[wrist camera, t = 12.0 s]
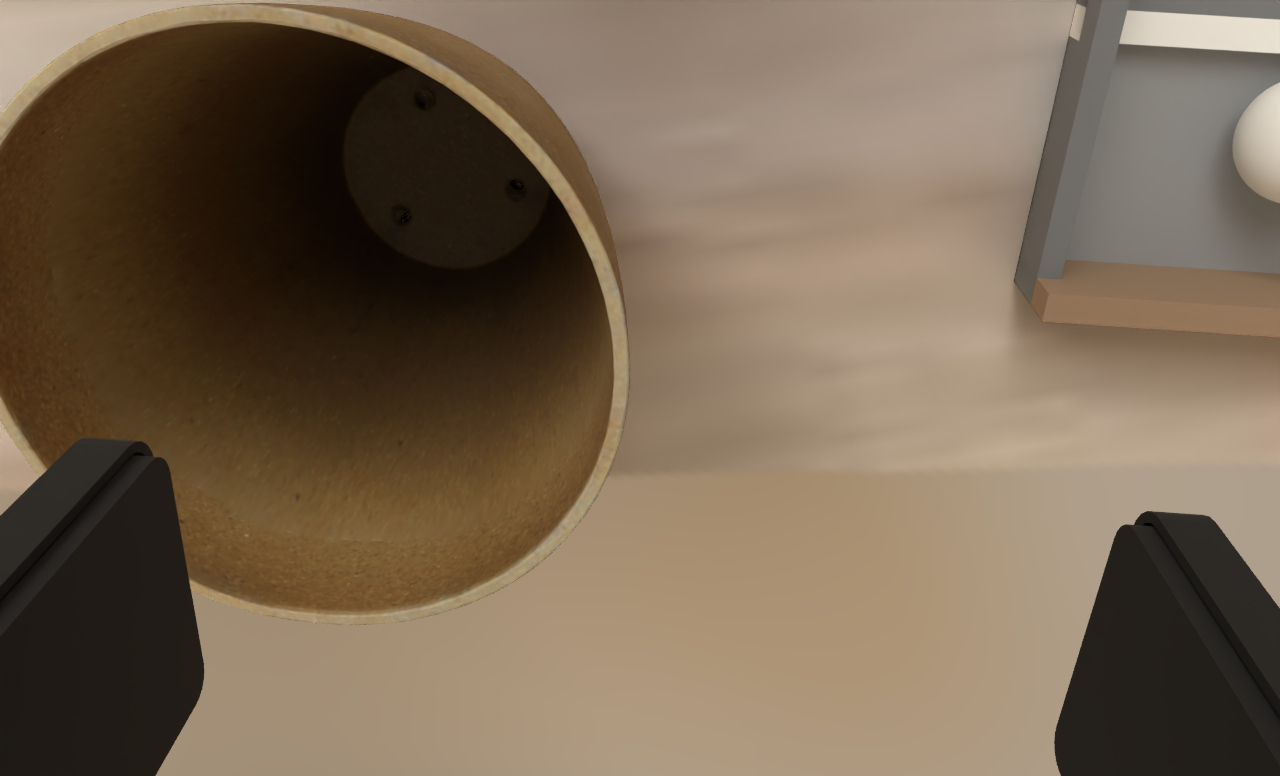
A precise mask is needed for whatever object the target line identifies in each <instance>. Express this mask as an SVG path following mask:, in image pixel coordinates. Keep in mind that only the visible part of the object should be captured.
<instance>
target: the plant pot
mask: <svg viewBox="0 0 1280 776" xmlns="http://www.w3.org/2000/svg"><path fill="white" fill-rule="evenodd" d="M419 92H422V93H423V94H424V95H425V98H426V104H425V105H424V106H423V107H420V106H419V105H418V104H417V101H416V95H417V94H418V93H419ZM511 181H519V182H520V183H522V184H523V186H524V188H523V189H521V190H516V189H514V188H513V187H512V185H511ZM405 213H409V214H410V215H411V217H410V219H409V220H408V221H406V222H401V219H400V218H401V216H402V215H403V214H405ZM629 378H630V360H629V342H628V332H627V321H626V311H625V304H624V296H623V289H622V283H621V278H620V273H619V267H618V262H617V257H616V252H615V248H614V243H613V239H612V235H611V231H610V228H609V224H608V221H607V218H606V215H605V212H604V209H603V205H602V202H601V200H600V197H599V194H598V191H597V188H596V186H595V183H594V181H593V179H592V176H591V174H590V172H589V170H588V167H587V165H586V163H585V161H584V159H583V157H582V155H581V153H580V151H579V149H578V147H577V145H576V144H575V142H574V140H573V139H572V137H571V135H570V134H569V132H568V130H567V129H566V127H565V126H564V124H563V123H562V122H561V120H560V119H559V117H558V116H557V115H556V113H555V112H554V111H553V109H552V108H551V107H550V106H549V104H548V103H547V102H546V101H545V100H544V99H543V97H542V96H541V95H540V94H539V93H538V92H537V91H536V90H535V89H534V88H533V87H532V86H531V85H530V84H529V83H528V82H527V81H526V80H525V79H523V78H522V77H521V76H520V75H519V74H518V73H516V72H515V71H514V70H513V69H512V68H510V67H509V66H507V65H506V64H504V63H503V62H502V61H500V60H499V59H497V58H496V57H494V56H493V55H491V54H490V53H488V52H486V51H484V50H482V49H481V48H479V47H477V46H475V45H473V44H472V43H470V42H468V41H465V40H463V39H461V38H459V37H457V36H454V35H452V34H450V33H447V32H445V31H442V30H439V29H436V28H433V27H430V26H427V25H424V24H421V23H417V22H414V21H410V20H407V19H403V18H398V17H394V16H389V15H384V14H379V13H373V12H368V11H361V10H354V9H347V8H339V7H326V6H313V5H297V4H275V3H240V4H214V5H203V6H192V7H182V8H177V9H173V10H168V11H163V12H158V13H153V14H149V15H146V16H143V17H140V18H137V19H133V20H130V21H127V22H124V23H121V24H119V25H117V26H114V27H112V28H110V29H107V30H105V31H102V32H100V33H98V34H96V35H94V36H92V37H90V38H88V39H87V40H85V41H83V42H81V43H79V44H78V45H76V46H74V47H73V48H71V49H70V50H68V51H67V52H65V53H64V54H62V55H61V56H59V57H58V58H57V59H55V60H54V61H52V62H51V63H50V64H49V65H48V66H46V67H45V68H44V69H43V70H42V71H41V72H39V73H38V74H37V75H36V76H35V77H34V78H32V79H31V80H30V81H29V82H28V83H27V84H26V85H25V86H24V87H23V88H22V89H21V90H20V91H19V92H18V93H17V94H16V96H15V97H14V98H13V99H12V100H11V101H10V102H9V103H8V105H7V106H6V107H5V109H4V110H3V112H2V113H1V115H0V420H1V422H2V424H3V426H4V427H5V429H6V431H7V432H8V434H9V435H10V437H11V438H12V440H13V441H14V443H15V444H16V446H17V447H18V449H19V450H20V452H21V453H22V454H23V456H24V457H25V459H26V460H27V461H28V463H29V464H30V465H31V467H32V468H33V469H34V470H35V472H36V473H37V474H38V475H39V476H41V475H42V474H43V473H44V472H45V471H46V470H47V469H48V468H49V467H51V466H52V465H53V464H54V463H55V462H56V461H57V460H58V459H59V458H60V457H61V456H62V455H63V454H64V453H65V452H66V451H67V450H68V449H69V448H70V447H71V446H72V445H73V444H74V443H75V442H77V441H78V440H80V439H81V438H103V439H117V440H131V441H142V442H144V443H146V444H147V445H148V446H149V448H150V449H151V451H152V453H153V457H161V458H163V459H165V460H166V462H167V464H168V466H169V469H170V473H171V479H172V484H173V490H174V496H175V502H176V507H177V513H178V519H179V525H180V530H181V536H182V542H183V548H184V553H185V559H186V565H187V571H188V576H189V582H190V588H191V590H192V591H194V592H197V593H199V594H201V595H204V596H206V597H208V598H211V599H213V600H216V601H219V602H222V603H225V604H229V605H231V606H235V607H238V608H241V609H244V610H248V611H251V612H254V613H259V614H264V615H268V616H273V617H278V618H284V619H289V620H296V621H306V622H316V623H327V624H340V625H366V624H378V623H392V622H402V621H408V620H413V619H418V618H422V617H427V616H431V615H436V614H439V613H442V612H446V611H449V610H452V609H455V608H459V607H462V606H465V605H467V604H469V603H472V602H474V601H476V600H479V599H481V598H483V597H485V596H488V595H490V594H493V593H494V592H496V591H498V590H500V589H502V588H503V587H505V586H507V585H508V584H510V583H512V582H514V581H516V580H517V579H519V578H520V577H522V576H523V575H524V574H526V573H528V572H529V571H530V570H532V569H533V568H534V567H535V566H537V565H538V564H539V563H540V562H541V561H543V560H544V559H545V558H546V557H548V556H549V555H550V554H551V553H552V552H553V551H554V550H555V549H556V548H557V547H558V546H559V545H560V544H561V543H562V542H563V541H564V540H565V539H566V538H567V537H568V536H569V534H570V533H571V532H572V531H573V530H574V528H575V527H576V526H577V525H578V523H579V522H580V521H581V520H582V518H583V517H584V516H585V515H586V513H587V512H588V510H589V509H590V507H591V506H592V504H593V502H594V501H595V499H596V498H597V496H598V494H599V492H600V490H601V488H602V486H603V484H604V482H605V480H606V478H607V476H608V474H609V472H610V469H611V466H612V464H613V461H614V458H615V455H616V452H617V449H618V446H619V443H620V439H621V436H622V433H623V428H624V423H625V418H626V413H627V404H628V395H629Z"/></svg>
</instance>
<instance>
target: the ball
mask: <svg viewBox="0 0 1280 776" xmlns="http://www.w3.org/2000/svg"><path fill="white" fill-rule="evenodd" d="M1232 150H1233V159H1234V163H1235V166H1236V168H1237V171H1238V173H1239V175H1240V176H1241V178H1242V179H1243V181H1244V182H1245V183H1246V184H1247V185H1248V186H1249V187H1250V188H1251V189H1252V190H1253V191H1254V192H1256V193H1257V194H1259V195H1261V196H1262V197H1264V198H1266V199H1268V200H1271V201H1274V202H1277V203H1280V83H1277V84H1275V85H1273V86H1272V87H1270V88H1268V89H1266V90H1265V91H1264V92H1263V93H1261V94H1260V95H1259V96H1257V97H1256V98H1255V99H1254V100H1253V101H1252V102H1251V103H1250V104H1249V106H1248V107H1247V108H1246V110H1245V111H1244V112H1243V114H1242V116H1241V117H1240V119H1239V121H1238V124H1237V126H1236V129H1235V132H1234V136H1233V144H1232Z"/></svg>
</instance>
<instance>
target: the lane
mask: <svg viewBox="0 0 1280 776" xmlns="http://www.w3.org/2000/svg"><path fill="white" fill-rule="evenodd" d="M1277 83H1280V0H1077V4H1076V8H1075V13H1074V17H1073V21H1072V26H1071V30H1070V35H1069V39H1068V44H1067V48H1066V53H1065V57H1064V61H1063V66H1062V70H1061V75H1060V79H1059V84H1058V88H1057V92H1056V97H1055V101H1054V106H1053V110H1052V115H1051V119H1050V124H1049V128H1048V132H1047V137H1046V141H1045V146H1044V150H1043V155H1042V159H1041V163H1040V168H1039V172H1038V177H1037V181H1036V186H1035V190H1034V195H1033V199H1032V203H1031V208H1030V212H1029V217H1028V221H1027V226H1026V230H1025V234H1024V239H1023V243H1022V248H1021V252H1020V257H1019V261H1018V266H1017V270H1016V274H1015V279H1014V282H1015V283H1016V285H1017V286H1018V288H1019V289H1020V291H1021V292H1022V294H1023V295H1024V296H1025V298H1026V299H1027V301H1028V302H1029V304H1030V305H1031V307H1032V308H1033V309H1034V311H1035V312H1036V314H1037V315H1038V317H1039V318H1040V319H1041V321H1042V322H1053V323H1068V324H1083V325H1098V326H1113V327H1128V328H1143V329H1158V330H1173V331H1188V332H1204V333H1219V334H1234V335H1249V336H1264V337H1279V338H1280V203H1277V202H1274V201H1271V200H1268V199H1266V198H1264V197H1262V196H1261V195H1259V194H1257V193H1256V192H1254V191H1253V190H1252V189H1251V188H1250V187H1249V186H1248V185H1247V184H1246V183H1245V182H1244V181H1243V179H1242V178H1241V176H1240V175H1239V173H1238V171H1237V168H1236V166H1235V163H1234V159H1233V150H1232V144H1233V136H1234V132H1235V129H1236V126H1237V124H1238V121H1239V119H1240V117H1241V116H1242V114H1243V112H1244V111H1245V110H1246V108H1247V107H1248V106H1249V104H1250V103H1251V102H1252V101H1253V100H1254V99H1255V98H1256V97H1257V96H1259V95H1260V94H1261V93H1263V92H1264V91H1265V90H1266V89H1268V88H1270V87H1272V86H1273V85H1275V84H1277Z"/></svg>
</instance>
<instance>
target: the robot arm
mask: <svg viewBox="0 0 1280 776" xmlns="http://www.w3.org/2000/svg"><path fill="white" fill-rule="evenodd" d="M203 680H204V663H203V657H202V651H201V645H200V640H199V634H198V628H197V623H196V617H195V611H194V605H193V599H192V594H191V588H190V582H189V576H188V571H187V565H186V559H185V553H184V548H183V542H182V536H181V530H180V525H179V519H178V513H177V507H176V502H175V496H174V490H173V484H172V479H171V473H170V469H169V466H168V464H167V462H166V460H165V459H163V458H161V457H153V453H152V451H151V449H150V448H149V446H148V445H147V444H146V443H144V442H142V441H131V440H117V439H103V438H81V439H80V440H78V441H77V442H75V443H74V444H73V445H72V446H71V447H70V448H69V449H68V450H67V451H66V452H65V453H64V454H63V455H62V456H61V457H60V458H59V459H58V460H57V461H56V462H55V463H54V464H53V465H52V466H51V467H49V468H48V469H47V470H46V471H45V472H44V473H43V474H42V475H41V476H40V477H39V478H38V479H37V480H36V481H35V482H34V483H33V484H32V485H31V486H30V487H29V488H28V489H27V490H26V491H25V492H24V493H23V494H22V495H21V496H20V497H19V498H18V499H17V500H16V501H15V502H14V503H13V504H12V505H11V506H10V507H9V508H8V509H7V510H6V511H5V512H4V513H3V514H2V515H1V516H0V776H155V775H156V774H157V772H158V770H159V768H160V767H161V765H162V763H163V761H164V759H165V758H166V756H167V754H168V753H169V751H170V749H171V747H172V746H173V744H174V742H175V740H176V739H177V737H178V735H179V733H180V732H181V730H182V728H183V727H184V725H185V723H186V721H187V720H188V718H189V716H190V714H191V713H192V711H193V709H194V707H195V706H196V704H197V701H198V699H199V697H200V693H201V690H202V686H203ZM1054 743H1055V756H1056V762H1057V765H1058V769H1059V772H1060V774H1061V776H1280V608H1279V607H1278V606H1277V604H1276V603H1275V602H1274V601H1273V599H1272V598H1271V596H1270V595H1269V594H1268V592H1267V591H1266V590H1265V588H1264V587H1263V586H1262V584H1261V583H1260V581H1259V580H1258V579H1257V578H1256V576H1255V575H1254V574H1253V572H1252V571H1251V570H1250V568H1249V567H1248V565H1247V564H1246V563H1245V561H1244V560H1243V559H1242V557H1241V556H1240V555H1239V553H1238V552H1237V551H1236V549H1235V548H1234V546H1233V545H1232V544H1231V543H1230V541H1229V540H1228V538H1227V537H1226V536H1225V534H1224V533H1223V532H1222V530H1221V529H1220V528H1219V526H1218V525H1217V524H1216V522H1215V521H1214V520H1212V519H1211V518H1210V517H1208V516H1204V515H1194V514H1179V513H1166V512H1152V511H1147V512H1144V513H1142V514H1141V515H1140V516H1139V517H1138V519H1137V520H1136V522H1135V524H1134V525H1123V526H1121V527H1120V528H1119V530H1118V531H1117V533H1116V536H1115V538H1114V541H1113V544H1112V548H1111V551H1110V554H1109V557H1108V561H1107V564H1106V567H1105V570H1104V574H1103V577H1102V580H1101V583H1100V587H1099V590H1098V593H1097V596H1096V600H1095V603H1094V606H1093V610H1092V613H1091V616H1090V619H1089V623H1088V626H1087V629H1086V633H1085V635H1084V639H1083V642H1082V646H1081V648H1080V652H1079V655H1078V658H1077V662H1076V665H1075V668H1074V671H1073V675H1072V678H1071V681H1070V684H1069V688H1068V691H1067V694H1066V697H1065V701H1064V704H1063V707H1062V710H1061V714H1060V717H1059V720H1058V724H1057V727H1056V732H1055V742H1054Z"/></svg>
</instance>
